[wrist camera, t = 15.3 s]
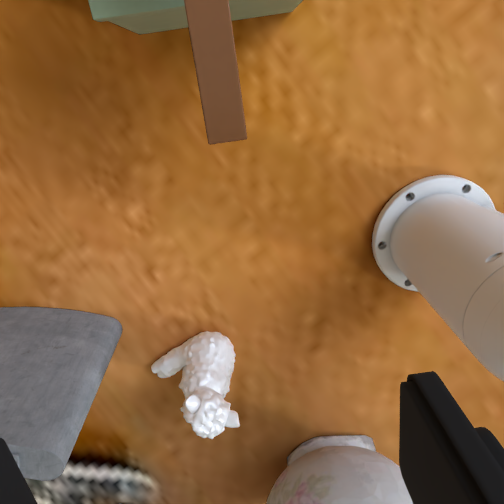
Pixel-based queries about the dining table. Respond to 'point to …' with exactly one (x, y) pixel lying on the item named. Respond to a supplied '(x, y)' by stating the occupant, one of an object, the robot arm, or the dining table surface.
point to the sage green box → (175, 12)
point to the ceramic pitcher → (339, 474)
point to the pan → (216, 69)
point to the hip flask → (50, 381)
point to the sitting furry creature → (203, 381)
